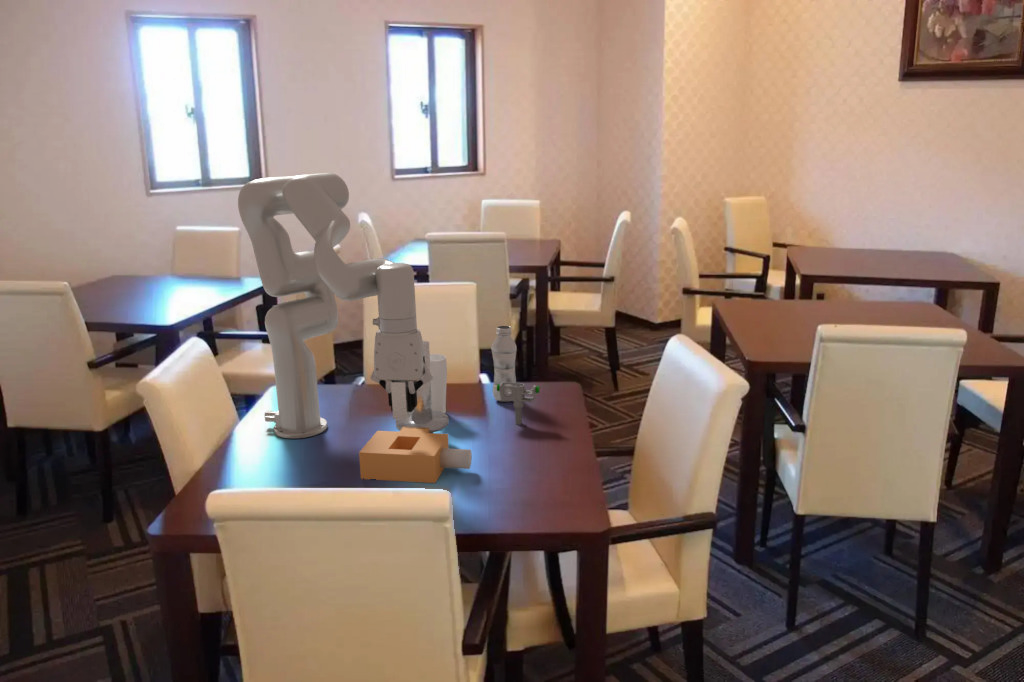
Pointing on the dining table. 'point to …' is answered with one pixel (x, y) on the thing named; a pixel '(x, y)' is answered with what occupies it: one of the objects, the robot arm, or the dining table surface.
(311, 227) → the robot arm
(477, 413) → the dining table surface
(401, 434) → the bracket head
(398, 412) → the white block
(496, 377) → the plastic bottle
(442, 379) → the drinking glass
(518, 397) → the mechanical component
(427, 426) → the post
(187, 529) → the dining table surface
